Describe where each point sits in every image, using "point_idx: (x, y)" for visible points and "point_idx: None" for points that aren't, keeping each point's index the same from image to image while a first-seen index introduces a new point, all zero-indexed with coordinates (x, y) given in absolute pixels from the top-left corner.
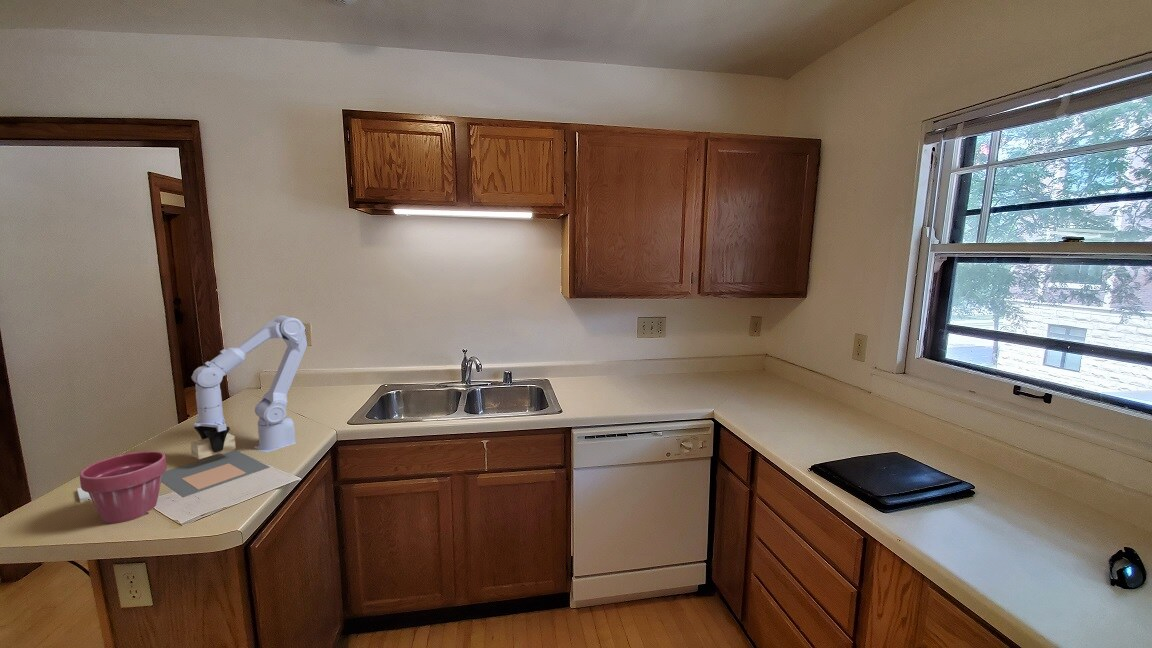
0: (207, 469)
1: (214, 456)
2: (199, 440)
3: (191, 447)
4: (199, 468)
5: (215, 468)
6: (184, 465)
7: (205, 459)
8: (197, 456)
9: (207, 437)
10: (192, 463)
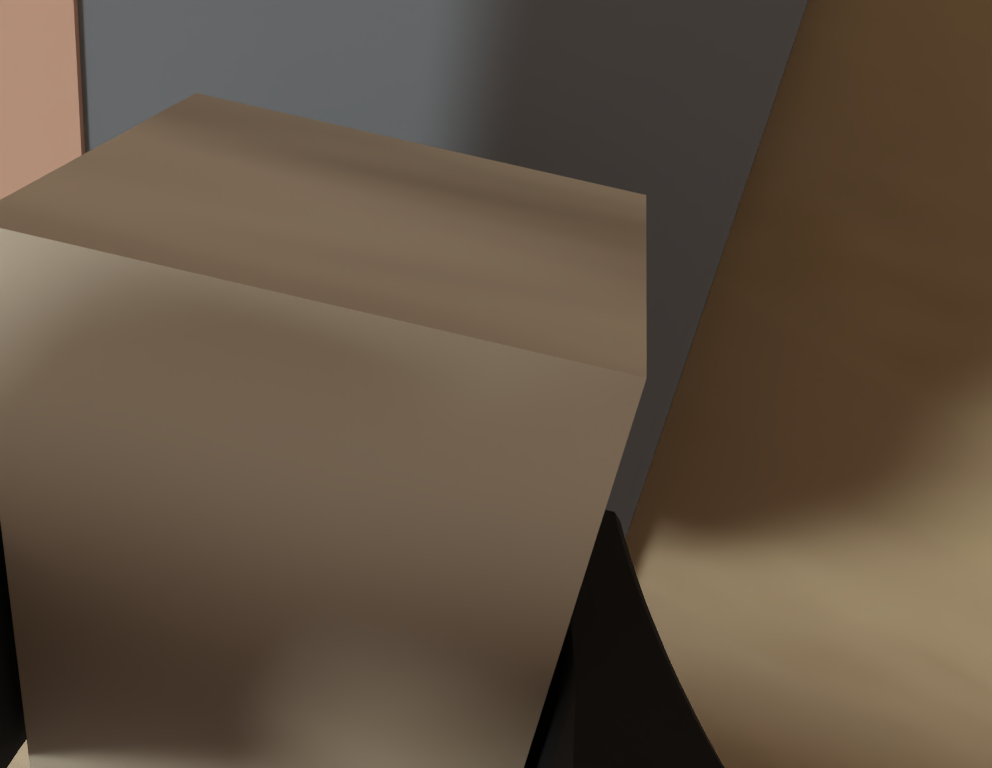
0: (128, 81)
1: (640, 482)
2: (531, 572)
3: (600, 280)
4: (316, 53)
5: (47, 159)
6: (782, 30)
7: (665, 361)
8: (249, 125)
9: (545, 761)
10: (719, 161)
